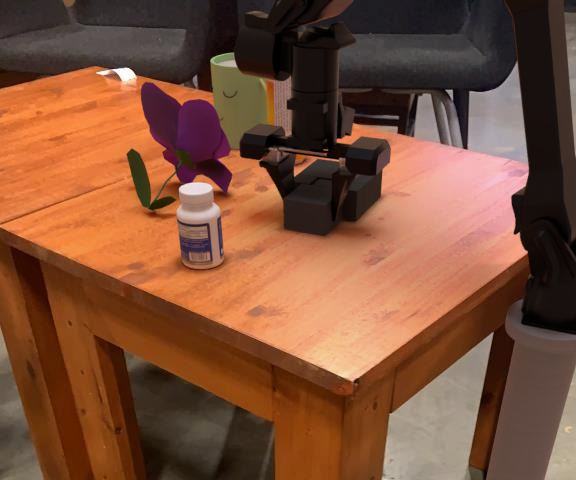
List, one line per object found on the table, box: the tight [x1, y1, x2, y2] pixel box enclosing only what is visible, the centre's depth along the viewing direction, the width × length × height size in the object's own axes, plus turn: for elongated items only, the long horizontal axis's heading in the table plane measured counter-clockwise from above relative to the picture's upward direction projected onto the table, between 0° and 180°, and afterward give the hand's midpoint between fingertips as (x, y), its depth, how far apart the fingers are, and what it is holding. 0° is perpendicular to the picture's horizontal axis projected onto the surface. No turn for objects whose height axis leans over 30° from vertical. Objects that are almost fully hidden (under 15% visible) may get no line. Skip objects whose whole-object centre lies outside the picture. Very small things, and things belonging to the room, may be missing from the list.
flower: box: [126, 81, 233, 213], centre depth 106 cm, size 15×15×14 cm
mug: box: [209, 52, 268, 150], centre depth 125 cm, size 13×10×12 cm
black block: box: [282, 179, 343, 237], centre depth 103 cm, size 6×9×4 cm
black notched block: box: [294, 158, 384, 222], centre depth 107 cm, size 10×10×4 cm
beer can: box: [266, 76, 307, 166], centre depth 117 cm, size 6×6×15 cm
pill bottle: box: [176, 181, 225, 270], centre depth 92 cm, size 5×5×9 cm
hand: (313, 216), depth 102 cm, fingers closed on black block, 6 cm apart
